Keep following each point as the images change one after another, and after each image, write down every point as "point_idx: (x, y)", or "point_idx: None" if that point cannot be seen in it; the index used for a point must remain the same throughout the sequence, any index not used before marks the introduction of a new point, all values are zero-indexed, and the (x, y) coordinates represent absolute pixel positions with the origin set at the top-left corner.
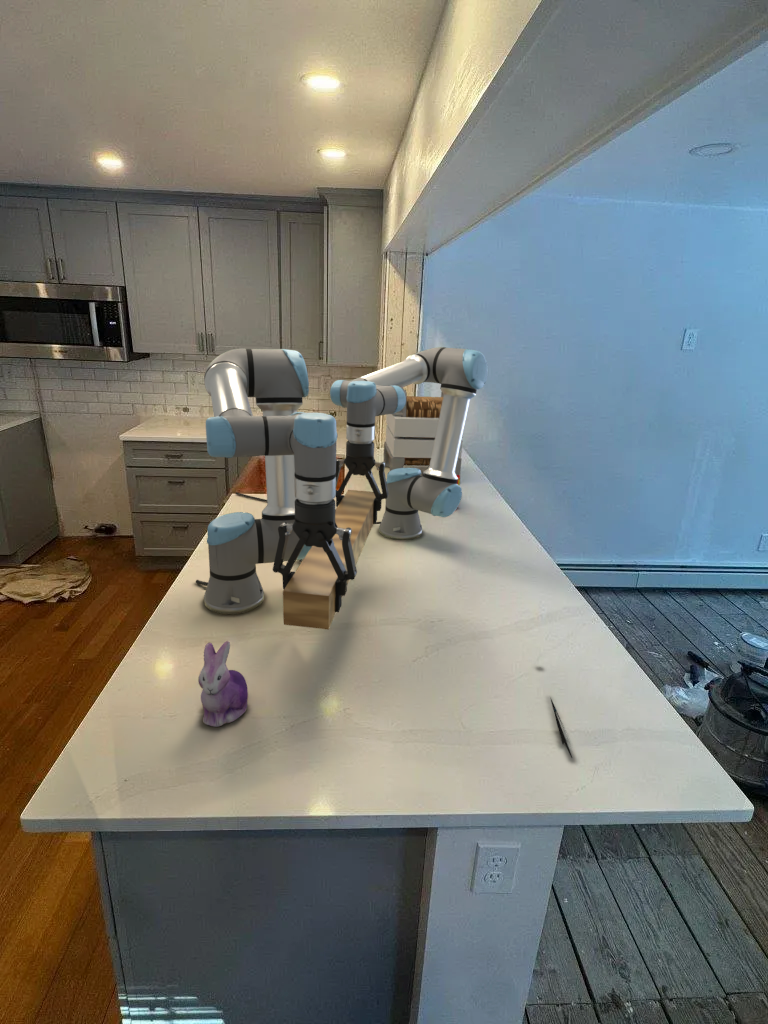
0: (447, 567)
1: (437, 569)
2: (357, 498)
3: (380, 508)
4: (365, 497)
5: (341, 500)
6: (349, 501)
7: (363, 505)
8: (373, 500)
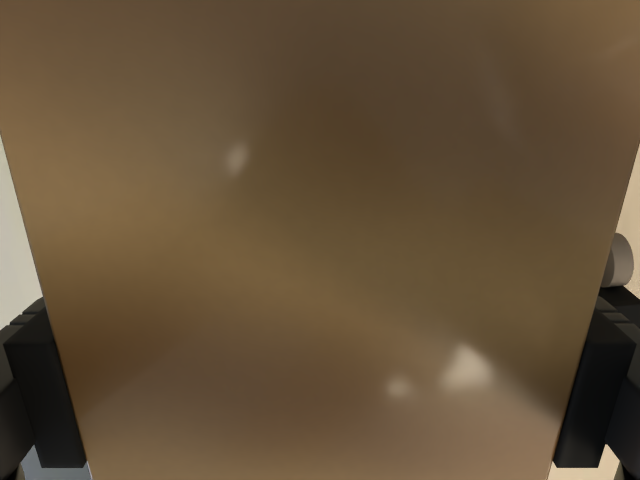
0: (3, 320)
1: (33, 298)
2: (339, 392)
3: (32, 307)
4: (229, 455)
5: (609, 246)
6: (458, 228)
7: (145, 56)
8: (66, 364)
